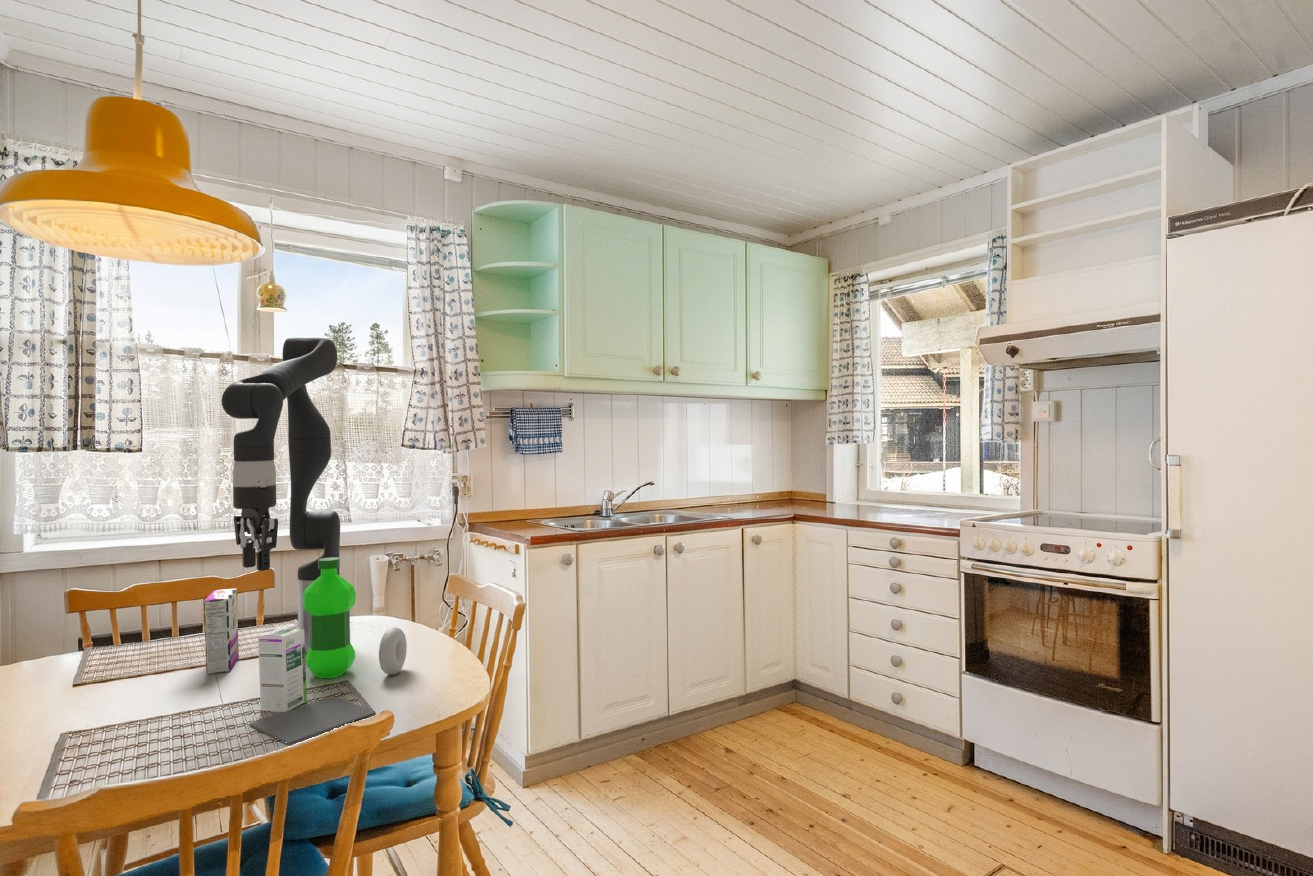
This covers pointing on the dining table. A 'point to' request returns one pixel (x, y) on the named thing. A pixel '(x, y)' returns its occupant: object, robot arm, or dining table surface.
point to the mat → (311, 719)
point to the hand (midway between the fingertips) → (256, 568)
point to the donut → (392, 651)
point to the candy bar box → (221, 631)
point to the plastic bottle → (329, 621)
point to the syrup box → (282, 669)
